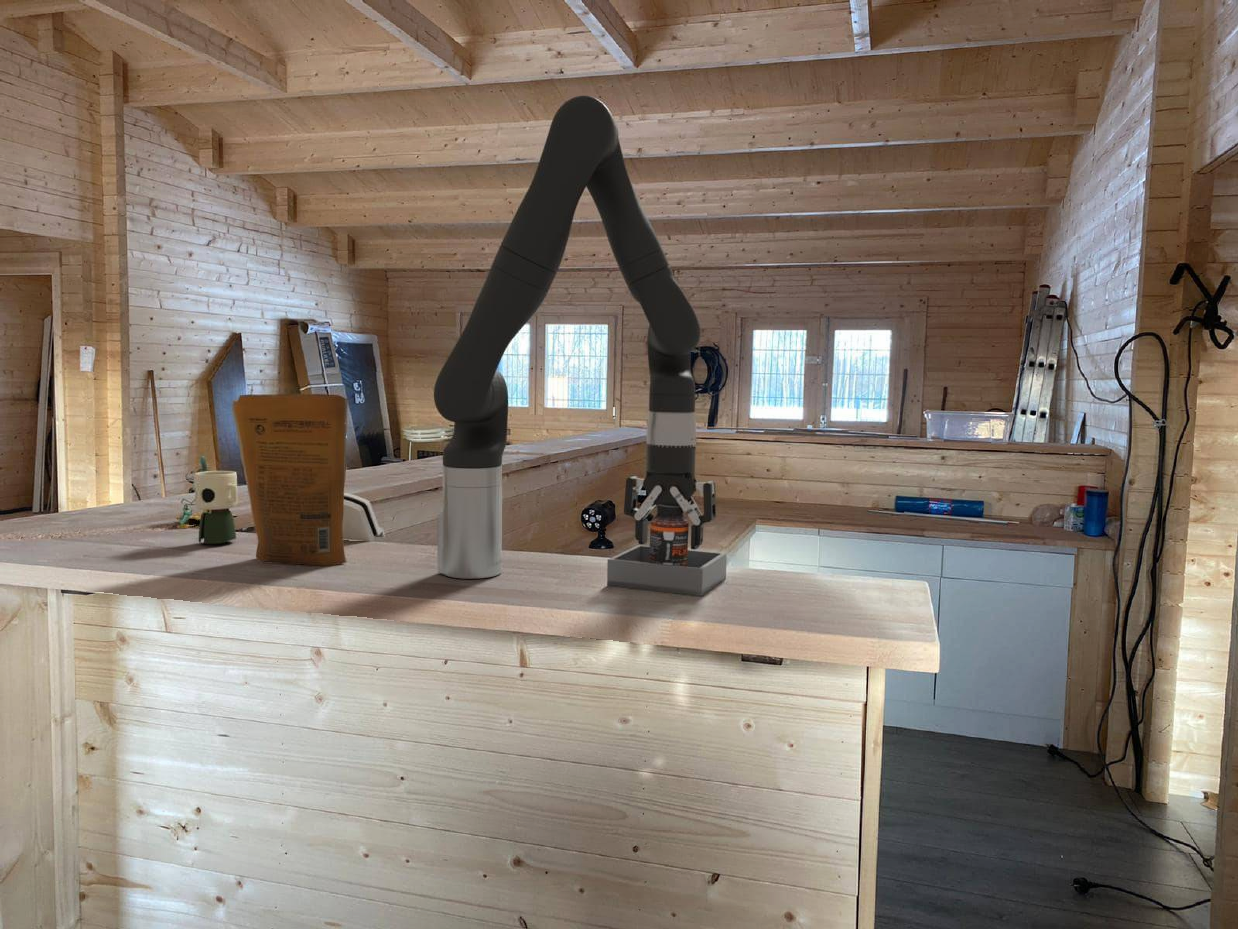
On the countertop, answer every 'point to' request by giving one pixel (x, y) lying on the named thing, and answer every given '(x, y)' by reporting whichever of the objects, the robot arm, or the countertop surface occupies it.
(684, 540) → the supplement bottle
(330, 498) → the pancake mix bag
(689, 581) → the bin
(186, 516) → the frog figurine
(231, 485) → the character mug
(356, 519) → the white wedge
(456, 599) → the countertop surface
